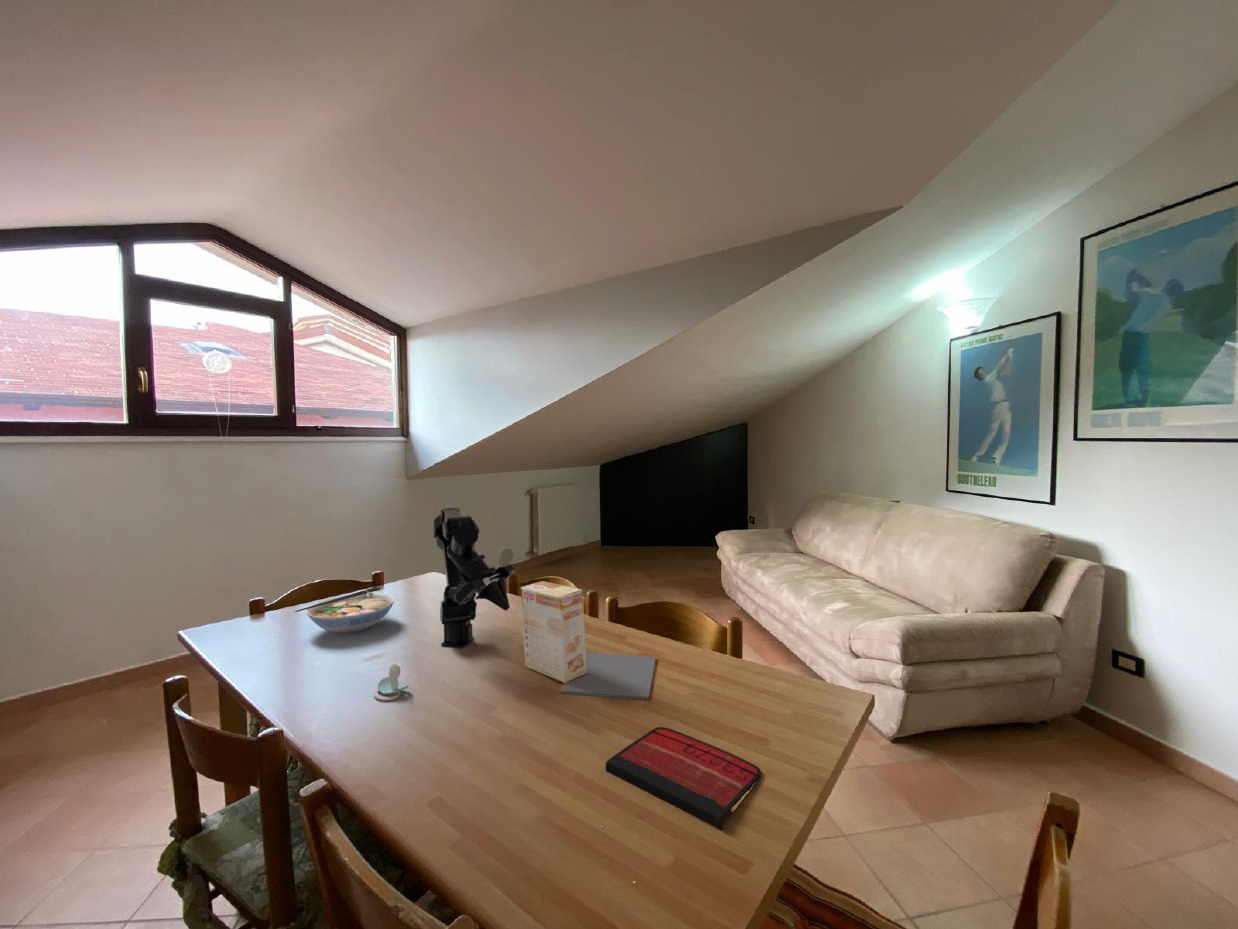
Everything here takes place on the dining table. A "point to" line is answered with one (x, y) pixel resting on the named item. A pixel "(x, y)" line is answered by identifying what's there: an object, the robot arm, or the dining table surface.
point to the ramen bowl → (350, 611)
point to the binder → (685, 773)
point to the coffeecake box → (554, 630)
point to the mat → (614, 676)
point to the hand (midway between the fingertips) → (507, 609)
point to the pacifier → (390, 685)
